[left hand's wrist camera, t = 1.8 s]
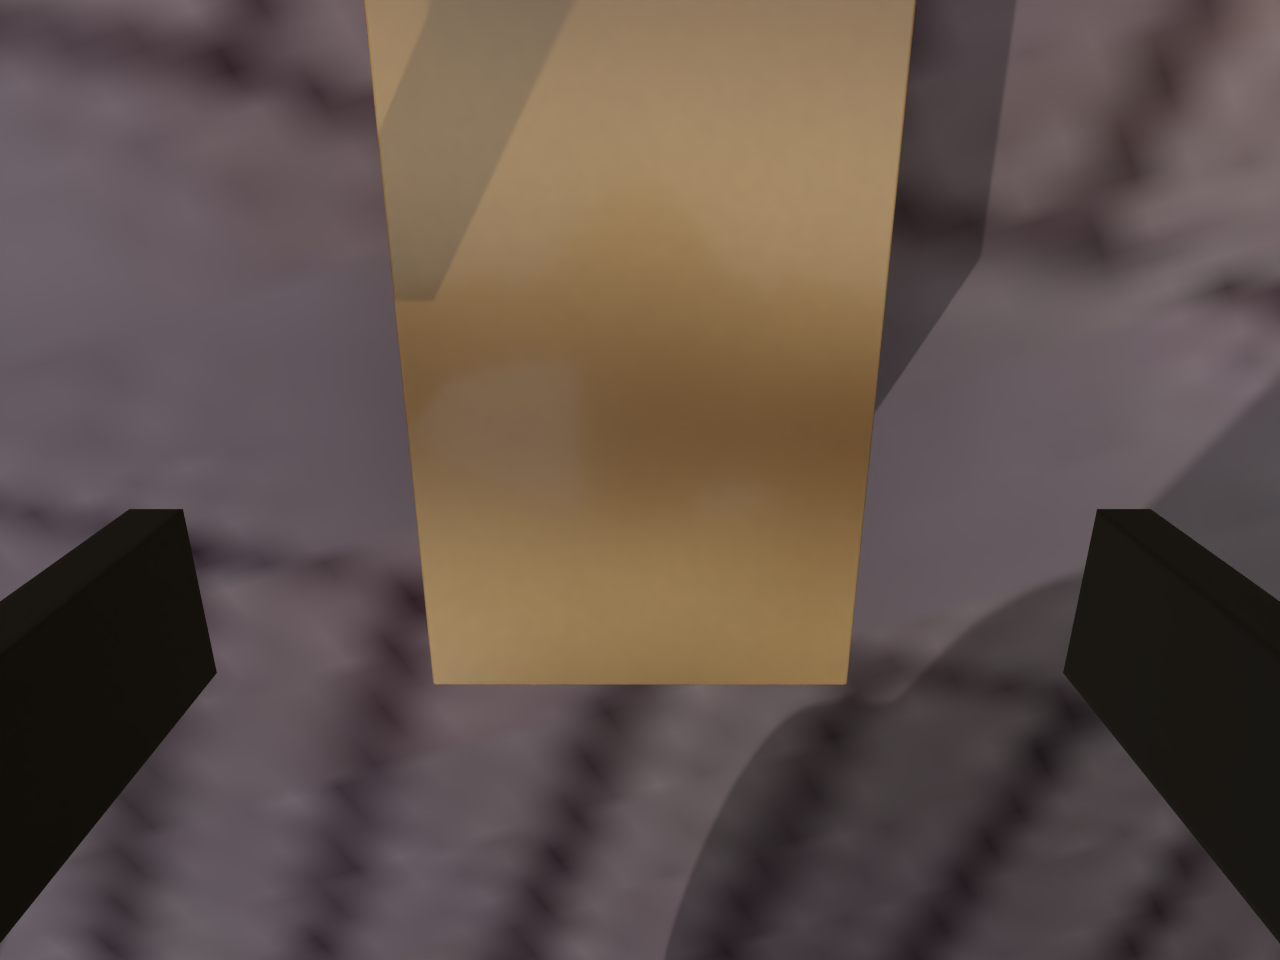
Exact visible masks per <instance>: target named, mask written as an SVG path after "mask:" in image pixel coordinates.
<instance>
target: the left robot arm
mask: <svg viewBox="0 0 1280 960" xmlns="http://www.w3.org/2000/svg"><path fill="white" fill-rule="evenodd" d="M216 673H217V672H216V667H215V662H214V657H213V653H212V648H211V643H210V638H209V633H208V628H207V624H206V619H205V614H204V609H203V604H202V599H201V595H200V590H199V585H198V580H197V575H196V570H195V566H194V561H193V556H192V551H191V546H190V541H189V537H188V532H187V527H186V522H185V517H184V512H183V509H129V510H128V511H126V512H125V513H123V514H122V515H121V516H119V517H118V518H116V519H115V520H114V521H112V522H111V523H109V524H108V525H107V526H105V527H104V528H102V529H101V530H100V531H98V532H97V533H95V534H94V535H93V536H91V537H90V538H88V539H87V540H86V541H84V542H83V543H81V544H80V545H79V546H77V547H76V548H74V549H73V550H72V551H70V552H69V553H67V554H66V555H65V556H63V557H62V558H60V559H59V560H58V561H56V562H55V563H53V564H52V565H51V566H49V567H48V568H46V569H45V570H44V571H42V572H41V573H39V574H38V575H37V576H35V577H34V578H32V579H31V580H30V581H28V582H27V583H25V584H24V585H23V586H21V587H20V588H18V589H17V590H16V591H14V592H13V593H11V594H10V595H9V596H7V597H6V598H4V599H3V600H2V601H0V943H1V942H2V940H3V939H4V938H5V937H6V935H7V934H8V933H9V932H10V930H11V929H12V928H13V927H14V925H15V924H16V923H17V922H18V920H19V919H20V918H21V917H22V915H23V914H24V913H25V912H26V910H27V909H28V908H29V907H30V905H31V904H32V903H33V902H34V900H35V899H36V898H37V897H38V895H39V894H40V893H41V892H42V890H43V889H44V888H45V887H46V885H47V884H48V883H49V882H50V880H51V879H52V878H53V877H54V875H55V874H56V873H57V872H58V870H59V869H60V868H61V867H62V865H63V864H64V863H65V862H66V860H67V859H68V858H69V857H70V855H71V854H72V853H73V852H74V850H75V849H76V848H77V847H78V845H79V844H80V843H81V842H82V840H83V839H84V838H85V837H86V835H87V834H88V833H89V832H90V830H91V829H92V828H93V827H94V825H95V824H96V823H97V822H98V820H99V819H100V818H101V817H102V815H103V814H104V813H105V812H106V810H107V809H108V808H109V807H110V805H111V804H112V803H113V802H114V800H115V799H116V798H117V797H118V795H119V794H120V793H121V792H122V790H123V789H124V788H125V787H126V785H127V784H128V783H129V782H130V780H131V779H132V778H133V777H134V776H135V774H136V773H137V772H138V771H139V769H140V768H141V767H142V766H143V764H144V763H145V762H146V761H147V759H148V758H149V757H150V756H151V754H152V753H153V752H154V751H155V749H156V748H157V747H158V746H159V744H160V743H161V742H162V741H163V739H164V738H165V737H166V736H167V734H168V733H169V732H170V731H171V729H172V728H173V727H174V726H175V724H176V723H177V722H178V721H179V719H180V718H181V717H182V716H183V714H184V713H185V712H186V711H187V709H188V708H189V707H190V706H191V704H192V703H193V702H194V701H195V699H196V698H197V697H198V696H199V694H200V693H201V692H202V691H203V689H204V688H205V687H206V686H207V684H208V683H209V682H210V681H211V679H212V678H213V677H214V676H215V674H216ZM1063 673H1064V674H1065V676H1066V677H1067V678H1068V679H1069V681H1070V682H1071V683H1072V684H1073V686H1074V687H1075V688H1076V689H1077V691H1078V692H1079V693H1080V694H1081V696H1082V697H1083V698H1084V699H1085V701H1086V702H1087V703H1088V704H1089V706H1090V707H1091V708H1092V709H1093V711H1094V712H1095V713H1096V714H1097V716H1098V717H1099V718H1100V719H1101V721H1102V722H1103V723H1104V724H1105V726H1106V727H1107V728H1108V729H1109V731H1110V732H1111V733H1112V734H1113V736H1114V737H1115V738H1116V739H1117V741H1118V742H1119V743H1120V744H1121V746H1122V747H1123V748H1124V749H1125V751H1126V752H1127V753H1128V754H1129V756H1130V757H1131V758H1132V759H1133V761H1134V762H1135V763H1136V764H1137V766H1138V767H1139V768H1140V769H1141V771H1142V772H1143V773H1144V774H1145V776H1146V777H1147V778H1148V779H1149V780H1150V782H1151V783H1152V784H1153V785H1154V787H1155V788H1156V789H1157V790H1158V792H1159V793H1160V794H1161V795H1162V797H1163V798H1164V799H1165V800H1166V802H1167V803H1168V804H1169V805H1170V807H1171V808H1172V809H1173V810H1174V812H1175V813H1176V814H1177V815H1178V817H1179V818H1180V819H1181V820H1182V822H1183V823H1184V824H1185V825H1186V827H1187V828H1188V829H1189V830H1190V832H1191V833H1192V834H1193V835H1194V837H1195V838H1196V839H1197V840H1198V842H1199V843H1200V844H1201V845H1202V847H1203V848H1204V849H1205V850H1206V852H1207V853H1208V854H1209V855H1210V857H1211V858H1212V859H1213V860H1214V862H1215V863H1216V864H1217V865H1218V867H1219V868H1220V869H1221V870H1222V872H1223V873H1224V874H1225V875H1226V877H1227V878H1228V879H1229V880H1230V882H1231V883H1232V884H1233V885H1234V887H1235V888H1236V889H1237V890H1238V892H1239V893H1240V894H1241V895H1242V897H1243V898H1244V899H1245V900H1246V902H1247V903H1248V904H1249V905H1250V907H1251V908H1252V909H1253V910H1254V912H1255V913H1256V914H1257V915H1258V917H1259V918H1260V919H1261V920H1262V922H1263V923H1264V924H1265V925H1266V927H1267V928H1268V929H1269V930H1270V932H1271V933H1272V934H1273V935H1274V937H1275V938H1276V939H1277V940H1278V941H1279V943H1280V601H1278V600H1277V599H1276V598H1274V597H1273V596H1271V595H1270V594H1269V593H1267V592H1266V591H1264V590H1263V589H1262V588H1260V587H1259V586H1257V585H1256V584H1255V583H1253V582H1252V581H1250V580H1249V579H1248V578H1246V577H1245V576H1243V575H1242V574H1241V573H1239V572H1238V571H1236V570H1235V569H1234V568H1232V567H1231V566H1229V565H1228V564H1227V563H1225V562H1224V561H1222V560H1221V559H1220V558H1218V557H1217V556H1215V555H1214V554H1213V553H1211V552H1210V551H1208V550H1207V549H1206V548H1204V547H1203V546H1201V545H1200V544H1199V543H1197V542H1196V541H1194V540H1193V539H1192V538H1190V537H1189V536H1187V535H1186V534H1185V533H1183V532H1182V531H1180V530H1179V529H1178V528H1176V527H1175V526H1173V525H1172V524H1171V523H1169V522H1168V521H1166V520H1165V519H1164V518H1162V517H1161V516H1159V515H1158V514H1157V513H1155V512H1154V511H1152V510H1151V509H1097V512H1096V517H1095V522H1094V527H1093V532H1092V537H1091V541H1090V546H1089V551H1088V556H1087V561H1086V566H1085V570H1084V575H1083V580H1082V585H1081V590H1080V595H1079V599H1078V604H1077V609H1076V614H1075V619H1074V624H1073V628H1072V633H1071V638H1070V643H1069V648H1068V653H1067V657H1066V662H1065V667H1064V672H1063Z"/></svg>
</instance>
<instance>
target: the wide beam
mask: <svg viewBox="0 0 1280 960" xmlns="http://www.w3.org/2000/svg"><path fill="white" fill-rule="evenodd" d="M364 6H365V16H366V26H367V36H368V45H369V55H370V65H371V75H372V85H373V95H374V104H375V114H376V124H377V134H378V144H379V154H380V163H381V173H382V183H383V193H384V203H385V213H386V223H387V232H388V242H389V252H390V262H391V272H392V282H393V291H394V301H395V311H396V321H397V331H398V341H399V350H400V360H401V370H402V380H403V390H404V400H405V409H406V419H407V429H408V439H409V449H410V459H411V469H412V478H413V488H414V498H415V508H416V518H417V528H418V537H419V547H420V557H421V567H422V577H423V587H424V596H425V606H426V616H427V626H428V636H429V646H430V655H431V665H432V675H433V683H434V684H846V683H847V675H848V666H849V656H850V646H851V636H852V626H853V616H854V607H855V597H856V587H857V577H858V567H859V557H860V548H861V538H862V528H863V518H864V508H865V498H866V488H867V479H868V469H869V459H870V449H871V439H872V429H873V420H874V410H875V400H876V390H877V380H878V370H879V361H880V351H881V341H882V331H883V321H884V311H885V302H886V292H887V282H888V272H889V262H890V252H891V243H892V233H893V223H894V213H895V203H896V193H897V184H898V174H899V164H900V154H901V144H902V134H903V125H904V115H905V105H906V95H907V85H908V75H909V66H910V56H911V46H912V36H913V26H914V16H915V7H916V0H364Z"/></svg>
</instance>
